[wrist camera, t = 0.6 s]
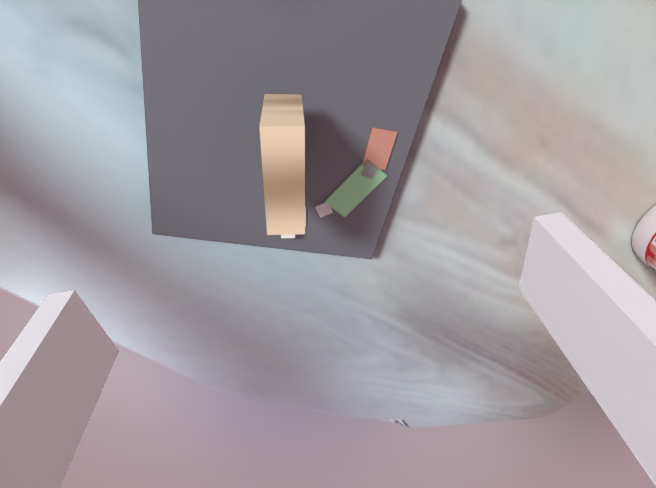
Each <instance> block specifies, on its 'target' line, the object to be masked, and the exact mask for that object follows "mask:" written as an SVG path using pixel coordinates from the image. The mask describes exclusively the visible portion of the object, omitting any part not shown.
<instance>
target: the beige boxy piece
mask: <svg viewBox="0 0 656 488" xmlns="http://www.w3.org/2000/svg"><path fill="white" fill-rule="evenodd" d="M259 129H260V143H261V156H262V170H263V184H264V198H265V212H266V226H267V235H281V238H295V234H305V123H304V114H303V104H302V95H297V94H265V95H264V101H263V107H262V113H261V119H260V126H259Z"/></svg>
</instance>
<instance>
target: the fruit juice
mask: <svg viewBox="0 0 656 488" xmlns="http://www.w3.org/2000/svg"><path fill="white" fill-rule="evenodd" d="M632 247H633V250H634V252H635V253H636V255H637V256H638V257H639V258H640V259H641V260H642V261H643V262H644V263H645V264H646V265H647V266H649V267H650V268H651V269H652V270H653V271H654V272H656V205H654V206H653V207H652V208H651V209H650V210H649V211H648V212H647V213H646V214H645V215H644V216H643V217H642V218H641V220H640V221H639V222H638V224H637V226H636V227H635V229H634V232H633V235H632Z"/></svg>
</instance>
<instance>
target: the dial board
mask: <svg viewBox="0 0 656 488" xmlns="http://www.w3.org/2000/svg"><path fill="white" fill-rule="evenodd" d="M461 1H462V0H138V8H139V24H140V40H141V57H142V73H143V89H144V105H145V121H146V138H147V154H148V170H149V186H150V202H151V218H152V234H157V235H165V236H174V237H183V238H191V239H200V240H209V241H218V242H226V243H235V244H244V245H252V246H261V247H270V248H278V249H287V250H296V251H304V252H313V253H322V254H331V255H339V256H348V257H357V258H365V259H372V256H373V253H374V250H375V248H376V245H377V242H378V239H379V236H380V233H381V230H382V227H383V225H384V222H385V219H386V216H387V213H388V210H389V207H390V205H391V202H392V199H393V196H394V193H395V190H396V187H397V184H398V182H399V179H400V176H401V173H402V170H403V167H404V164H405V162H406V159H407V156H408V153H409V150H410V147H411V144H412V141H413V139H414V136H415V133H416V130H417V127H418V124H419V121H420V119H421V116H422V113H423V110H424V107H425V104H426V101H427V98H428V96H429V93H430V90H431V87H432V84H433V81H434V78H435V76H436V73H437V70H438V67H439V64H440V61H441V58H442V55H443V53H444V50H445V47H446V44H447V41H448V38H449V35H450V33H451V30H452V27H453V24H454V21H455V18H456V15H457V13H458V10H459V7H460V4H461ZM265 94H297V95H302V104H303V114H304V123H305V234H295V238H281V235H267V226H266V212H265V198H264V184H263V170H262V156H261V143H260V129H259V126H260V119H261V113H262V107H263V101H264V95H265Z"/></svg>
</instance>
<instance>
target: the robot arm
mask: <svg viewBox="0 0 656 488" xmlns="http://www.w3.org/2000/svg"><path fill="white" fill-rule="evenodd" d="M519 290H520V291H521V293H522V294H523V295H524V297H525V298H526V300H527V301H528V303H529V304H530V305H531V307H532V308H533V310H534V311H535V313H536V314H537V316H538V317H539V318H540V320H541V321H542V323H543V324H544V326H545V327H546V329H547V330H548V331H549V333H550V334H551V336H552V337H553V339H554V340H555V342H556V343H557V344H558V346H559V347H560V349H561V350H562V352H563V353H564V355H565V356H566V357H567V359H568V360H569V362H570V363H571V365H572V366H573V368H574V369H575V370H576V372H577V373H578V375H579V376H580V378H581V379H582V380H583V382H584V383H585V385H586V386H587V388H588V389H589V391H590V392H591V393H592V395H593V396H594V398H595V399H596V401H597V402H598V404H599V405H600V406H601V408H602V409H603V411H604V412H605V414H606V415H607V417H608V418H609V419H610V421H611V422H612V424H613V425H614V427H615V428H616V430H617V431H618V432H619V434H620V435H621V437H622V438H623V440H624V441H625V442H626V444H627V445H628V447H629V448H630V450H631V451H632V453H633V454H634V455H635V457H636V458H637V460H638V461H639V463H640V464H641V466H642V467H643V468H644V470H645V471H646V473H647V474H648V476H649V477H650V479H651V480H652V481H653V483H654V484H655V486H656V301H655V300H654V299H653V298H652V297H651V296H650V295H649V294H648V293H647V292H646V291H645V290H643V289H642V288H641V287H640V286H639V285H638V284H637V283H636V282H635V281H634V280H633V279H632V278H631V277H630V276H629V275H627V274H626V273H625V272H624V271H623V270H622V269H621V268H620V267H619V266H618V265H617V264H616V263H615V262H614V261H613V260H611V259H610V258H609V257H608V256H607V255H606V254H605V253H604V252H603V251H602V250H601V249H600V248H599V247H598V246H597V245H595V244H594V243H593V242H592V241H591V240H590V239H589V238H588V237H587V236H586V235H585V234H584V233H583V232H582V231H581V230H580V229H578V228H577V227H576V226H575V225H574V224H573V223H572V222H571V221H570V220H569V219H568V218H567V217H566V216H565V215H564V214H562V213H555V214H549V215H543V216H537V217H534V219H533V224H532V229H531V233H530V238H529V242H528V247H527V252H526V256H525V261H524V266H523V270H522V275H521V279H520V284H519ZM118 352H119V350H118V349H117V348H116V346H115V345H114V343H113V342H112V341H111V339H110V338H109V337H108V335H107V334H106V332H105V331H104V330H103V328H102V327H101V326H100V324H99V323H98V322H97V320H96V319H95V317H94V316H93V315H92V313H91V312H90V311H89V309H88V308H87V306H86V305H85V304H84V302H83V301H82V300H81V298H80V297H79V296H78V294H77V293H76V291H75V290H73V291H66V292H60V293H54V294H48V296H47V297H46V298H45V300H44V301H43V303H42V304H41V305H40V307H39V308H38V310H37V311H36V313H35V314H34V315H33V317H32V318H31V319H30V321H29V322H28V324H27V325H26V326H25V328H24V329H23V331H22V332H21V333H20V335H19V336H18V338H17V339H16V341H15V342H14V343H13V345H12V346H11V348H10V349H9V350H8V352H7V353H6V355H5V356H4V358H3V359H2V360H1V362H0V488H60V487H61V484H62V482H63V479H64V477H65V475H66V473H67V470H68V468H69V466H70V463H71V461H72V459H73V456H74V454H75V452H76V449H77V447H78V445H79V442H80V440H81V438H82V435H83V433H84V431H85V428H86V426H87V424H88V421H89V419H90V417H91V415H92V412H93V410H94V408H95V405H96V403H97V401H98V398H99V396H100V394H101V391H102V389H103V387H104V384H105V382H106V380H107V377H108V375H109V373H110V370H111V368H112V366H113V363H114V361H115V358H116V356H117V354H118Z"/></svg>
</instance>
